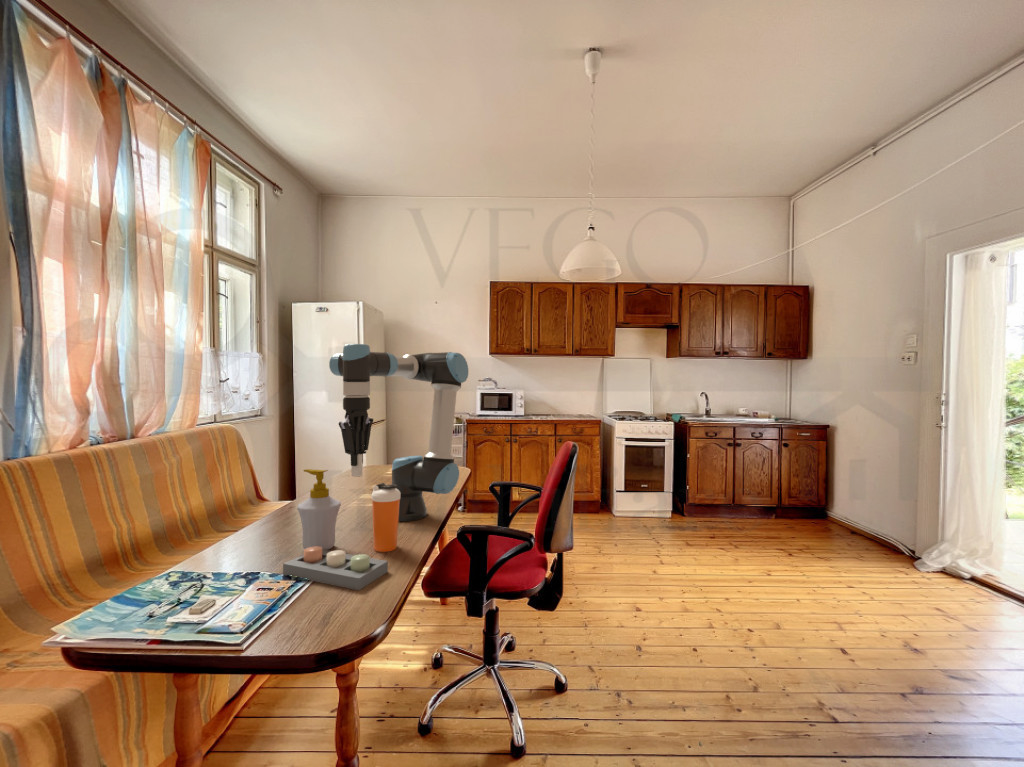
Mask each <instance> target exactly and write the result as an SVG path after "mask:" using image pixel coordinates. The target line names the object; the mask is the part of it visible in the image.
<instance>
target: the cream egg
mask: <svg viewBox="0 0 1024 767" xmlns="http://www.w3.org/2000/svg"><path fill="white" fill-rule="evenodd" d="M330 551H331V552H329V553H327V566H328V567H333V568H338V567H340V566H342V565H344V564H345V554H346V551H345V550H341V549H340V550H337V549H336V550H330Z"/></svg>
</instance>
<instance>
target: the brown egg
mask: <svg viewBox="0 0 1024 767" xmlns="http://www.w3.org/2000/svg"><path fill="white" fill-rule="evenodd" d="M303 554H304V562H307V563H312V564H314V563H316V562H318V561H320V560H322V547H319V546H314V547H309V548H306V549H304V548H303Z"/></svg>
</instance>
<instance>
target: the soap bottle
mask: <svg viewBox="0 0 1024 767" xmlns="http://www.w3.org/2000/svg"><path fill="white" fill-rule="evenodd" d="M328 471H329V469H325V470H324V469H312V468H311V469H310V468H309V469H308V468H307V469H303V473H304V472H305V473H309V474H310V475H313V476H315V479H316V480H317V482H315V483H314V484H313V488H311V489H310V495H309V496H310V497H309V498H308V499H306V500H305V501H303V502H301V503H299V504H297V508H296V509H297V511H298V513H299V516H300V522H301V527H302V548H303V550H304V549H306V548H309V547H314V546H319V547H322V550H327V551H330V550H331V549H332V548H333V547H334V546H335V543H336V524H337V518H338V515H339V511H340V508H341V506H342V505H341V504H342V503H341V500H338V499H336V498H333V497H332V496H331V495H329V493H330V489H329V487H327V483H325V482H323V480H324V478H325V477H324V476H325V475H324V473H326V472H328Z"/></svg>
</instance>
